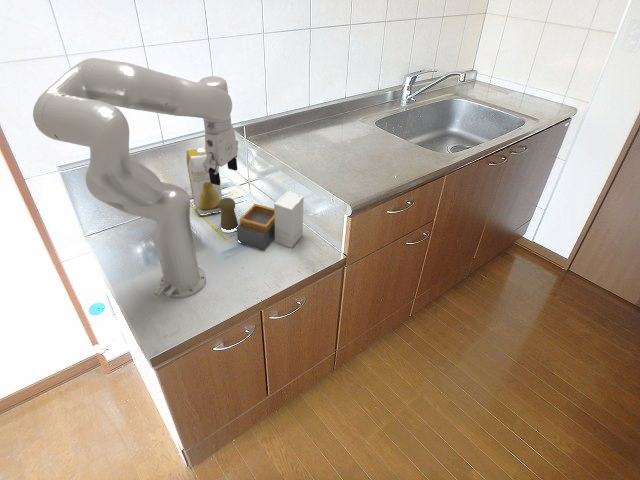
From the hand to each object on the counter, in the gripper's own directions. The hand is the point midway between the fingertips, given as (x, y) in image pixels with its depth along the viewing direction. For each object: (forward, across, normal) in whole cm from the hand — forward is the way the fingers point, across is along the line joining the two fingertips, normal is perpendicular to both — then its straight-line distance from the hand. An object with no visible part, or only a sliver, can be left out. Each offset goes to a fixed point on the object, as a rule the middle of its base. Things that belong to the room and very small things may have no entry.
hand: (224, 176), depth 127 cm
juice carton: (+20, +5, +12) cm, 24 cm away
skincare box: (+20, +2, -21) cm, 29 cm away
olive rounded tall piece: (+20, -1, 0) cm, 20 cm away
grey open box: (+19, 0, -12) cm, 23 cm away
